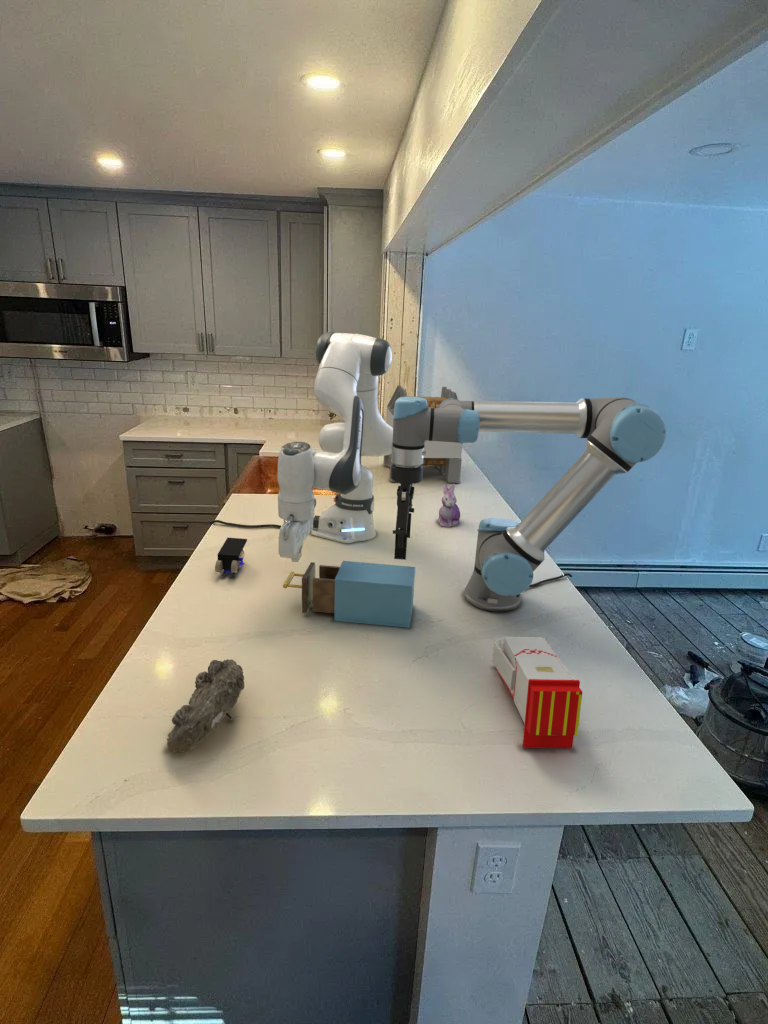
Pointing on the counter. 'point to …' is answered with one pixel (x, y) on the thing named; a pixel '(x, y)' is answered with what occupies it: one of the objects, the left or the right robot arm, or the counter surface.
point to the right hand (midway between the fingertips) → (402, 547)
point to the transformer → (437, 451)
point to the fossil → (206, 705)
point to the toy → (539, 691)
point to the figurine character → (230, 556)
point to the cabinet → (374, 594)
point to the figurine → (449, 508)
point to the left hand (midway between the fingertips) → (296, 559)
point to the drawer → (316, 588)
